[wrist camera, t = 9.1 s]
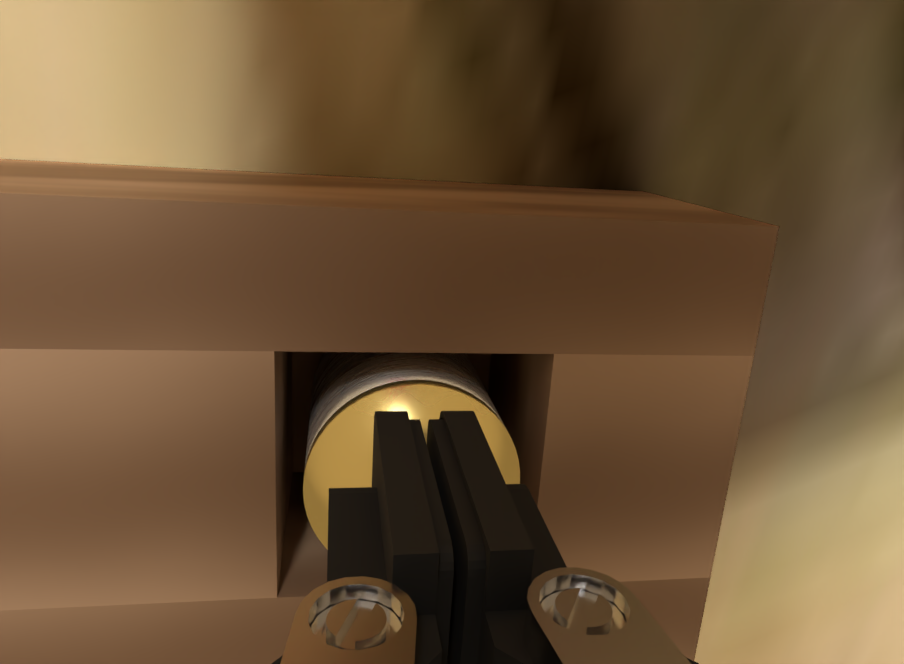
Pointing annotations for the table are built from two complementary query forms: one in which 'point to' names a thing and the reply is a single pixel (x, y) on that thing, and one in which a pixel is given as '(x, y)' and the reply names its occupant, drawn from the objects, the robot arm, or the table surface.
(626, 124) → the table surface
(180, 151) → the table surface
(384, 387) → the peg
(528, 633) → the robot arm
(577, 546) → the collar block
